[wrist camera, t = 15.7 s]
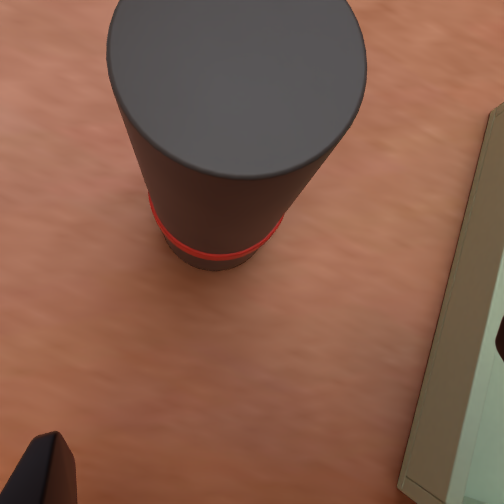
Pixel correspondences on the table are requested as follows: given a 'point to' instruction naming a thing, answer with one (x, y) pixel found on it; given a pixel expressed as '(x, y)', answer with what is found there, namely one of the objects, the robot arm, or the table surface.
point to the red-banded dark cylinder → (232, 111)
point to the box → (466, 357)
